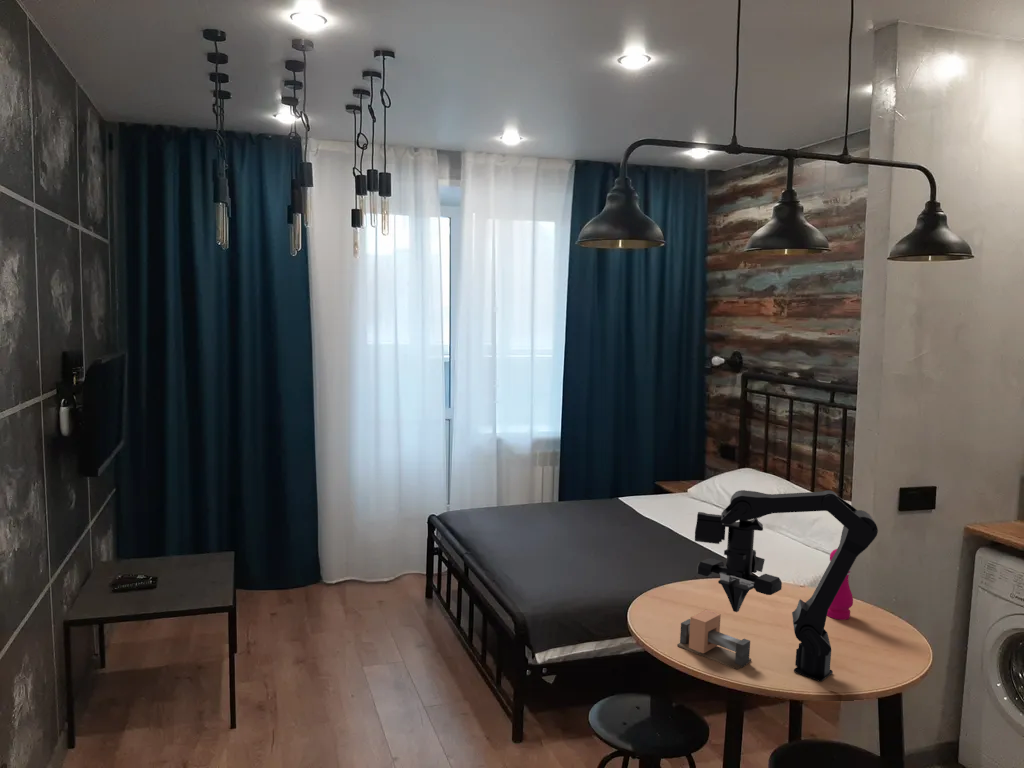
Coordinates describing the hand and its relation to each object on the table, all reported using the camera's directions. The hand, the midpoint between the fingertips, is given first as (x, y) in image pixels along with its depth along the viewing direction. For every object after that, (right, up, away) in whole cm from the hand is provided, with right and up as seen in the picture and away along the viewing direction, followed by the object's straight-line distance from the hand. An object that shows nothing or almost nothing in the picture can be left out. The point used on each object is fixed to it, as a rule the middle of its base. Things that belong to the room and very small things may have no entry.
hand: (736, 611), depth 180 cm
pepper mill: (+36, -10, +30) cm, 48 cm away
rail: (-4, -11, +5) cm, 13 cm away
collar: (-6, -11, +6) cm, 14 cm away
